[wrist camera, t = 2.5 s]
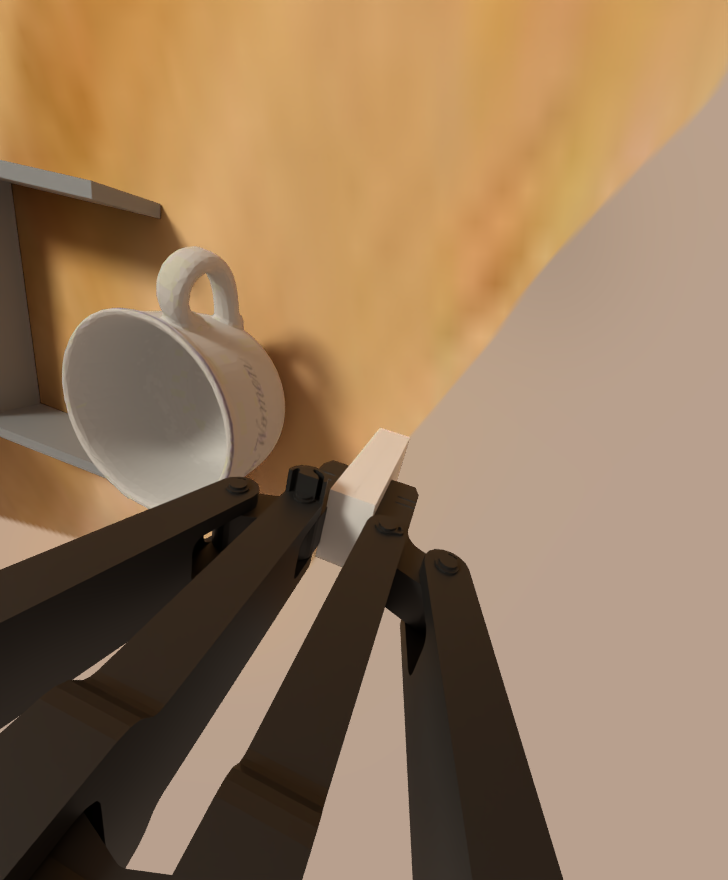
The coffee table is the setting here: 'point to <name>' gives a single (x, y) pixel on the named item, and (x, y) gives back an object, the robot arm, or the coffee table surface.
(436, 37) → the coffee table surface
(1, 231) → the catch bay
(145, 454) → the teacup
